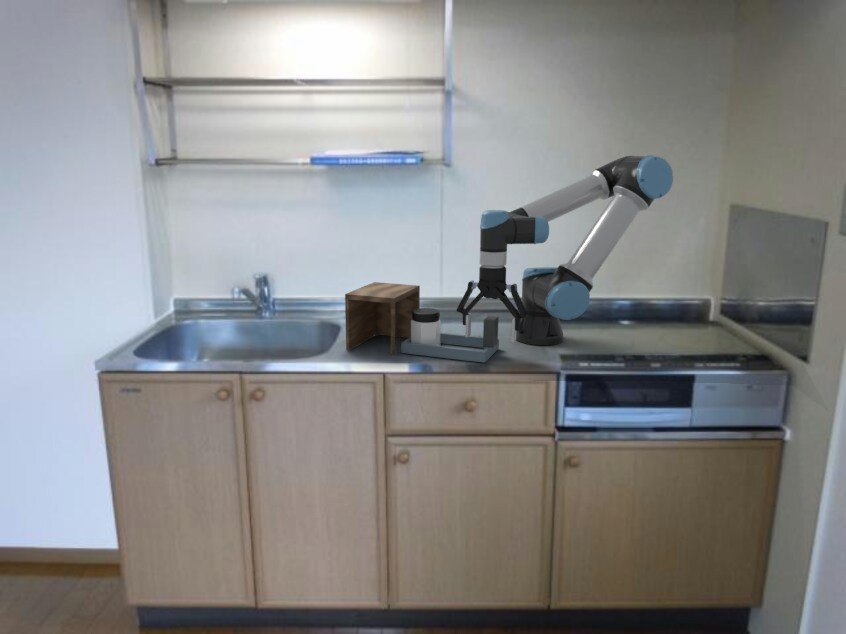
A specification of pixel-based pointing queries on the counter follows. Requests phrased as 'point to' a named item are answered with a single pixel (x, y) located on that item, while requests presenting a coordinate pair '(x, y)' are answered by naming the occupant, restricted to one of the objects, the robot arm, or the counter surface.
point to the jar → (426, 326)
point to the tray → (487, 342)
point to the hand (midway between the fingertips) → (490, 338)
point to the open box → (380, 312)
